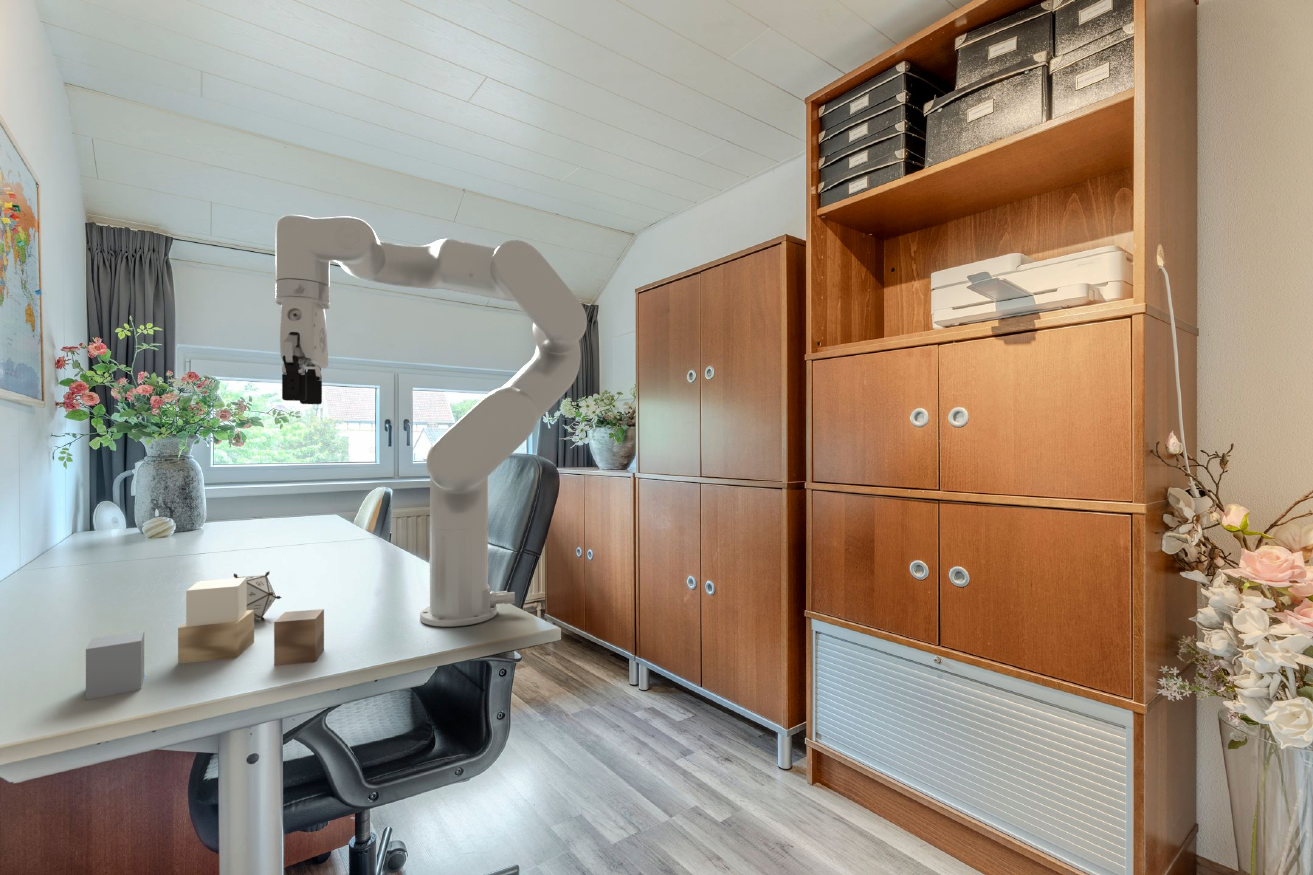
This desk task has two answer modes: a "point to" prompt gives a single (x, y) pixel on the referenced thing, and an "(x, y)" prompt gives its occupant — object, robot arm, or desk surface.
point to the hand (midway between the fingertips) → (303, 402)
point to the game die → (259, 594)
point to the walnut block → (298, 637)
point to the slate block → (114, 664)
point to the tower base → (215, 640)
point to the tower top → (216, 601)
